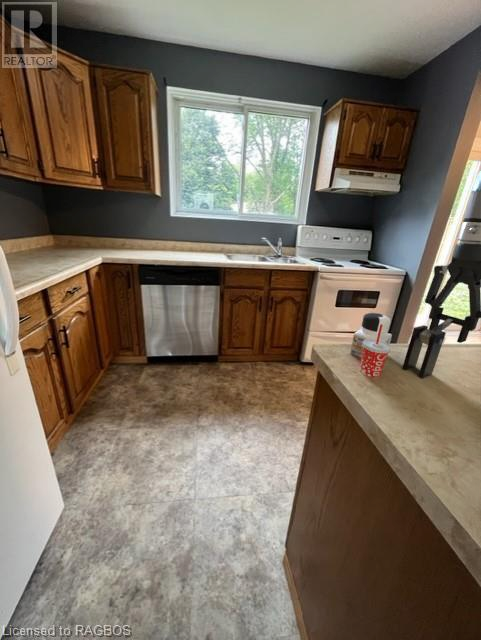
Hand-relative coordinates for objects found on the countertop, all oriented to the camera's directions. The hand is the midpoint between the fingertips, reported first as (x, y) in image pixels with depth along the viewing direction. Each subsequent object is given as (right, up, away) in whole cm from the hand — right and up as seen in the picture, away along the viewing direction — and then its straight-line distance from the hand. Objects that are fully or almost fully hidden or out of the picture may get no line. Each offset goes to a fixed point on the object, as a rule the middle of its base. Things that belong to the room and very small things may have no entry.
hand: (446, 336), depth 69 cm
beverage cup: (-21, -10, -2) cm, 23 cm away
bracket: (-9, -10, -1) cm, 13 cm away
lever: (-4, +1, -3) cm, 5 cm away
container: (-17, -7, +7) cm, 20 cm away
